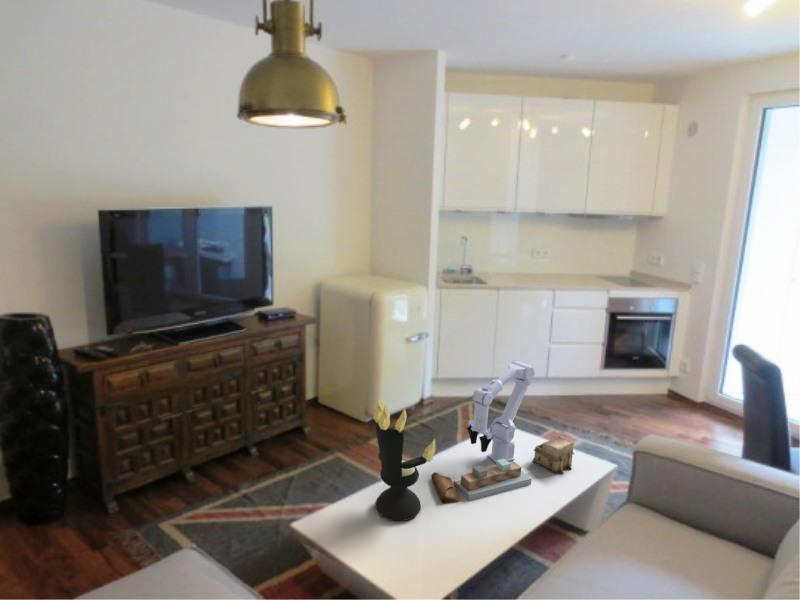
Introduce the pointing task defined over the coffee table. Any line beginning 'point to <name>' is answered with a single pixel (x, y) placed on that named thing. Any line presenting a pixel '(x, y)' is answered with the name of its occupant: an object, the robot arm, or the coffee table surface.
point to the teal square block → (503, 464)
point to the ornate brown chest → (554, 455)
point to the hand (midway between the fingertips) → (478, 447)
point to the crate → (479, 471)
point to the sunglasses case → (445, 489)
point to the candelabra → (397, 468)
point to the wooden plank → (490, 477)
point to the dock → (493, 487)
